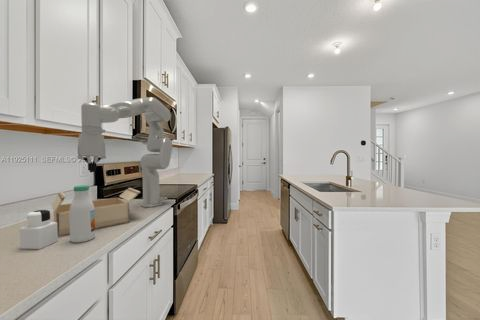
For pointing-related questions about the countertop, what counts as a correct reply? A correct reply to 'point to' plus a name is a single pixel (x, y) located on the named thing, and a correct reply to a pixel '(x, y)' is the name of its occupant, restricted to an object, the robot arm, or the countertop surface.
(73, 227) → the milk bottle
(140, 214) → the countertop surface
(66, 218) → the carton
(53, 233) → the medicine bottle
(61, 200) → the flap
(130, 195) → the flap
